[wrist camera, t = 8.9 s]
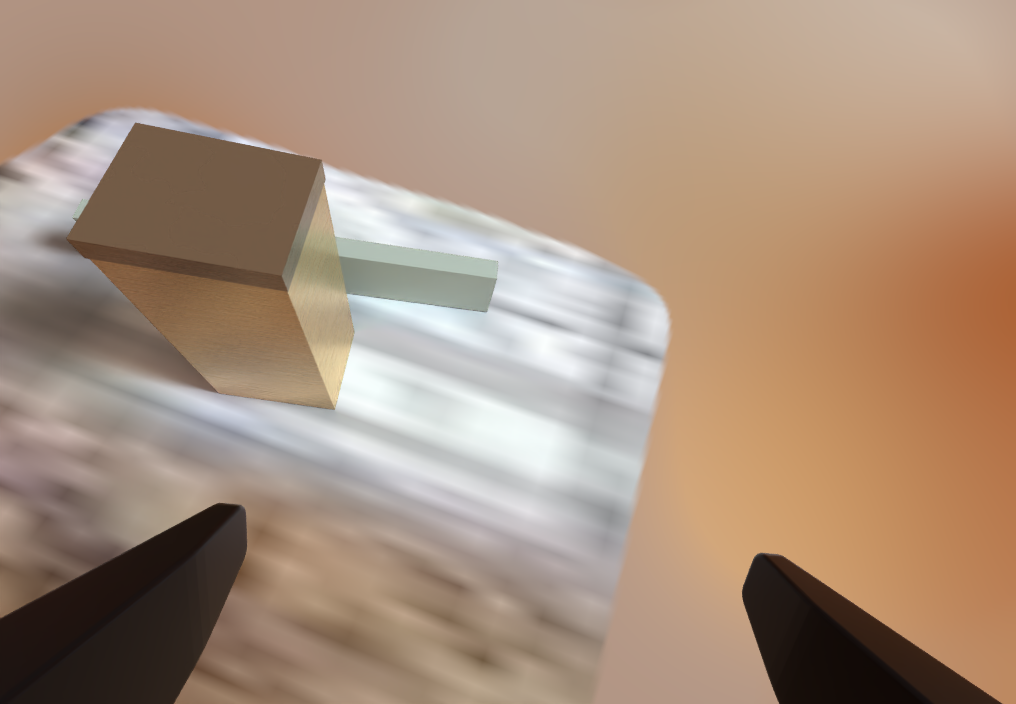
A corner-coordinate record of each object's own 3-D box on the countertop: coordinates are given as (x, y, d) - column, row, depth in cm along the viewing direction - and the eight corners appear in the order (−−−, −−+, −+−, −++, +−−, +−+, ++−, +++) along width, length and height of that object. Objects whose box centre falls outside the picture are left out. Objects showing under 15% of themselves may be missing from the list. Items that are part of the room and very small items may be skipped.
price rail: (112, 261, 24) (72, 217, 21) (121, 241, 24) (84, 195, 21) (487, 312, 26) (496, 278, 24) (488, 292, 27) (498, 258, 24)
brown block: (217, 394, 22) (66, 238, 12) (247, 313, 24) (136, 121, 14) (335, 410, 23) (281, 275, 13) (356, 330, 25) (322, 158, 15)
